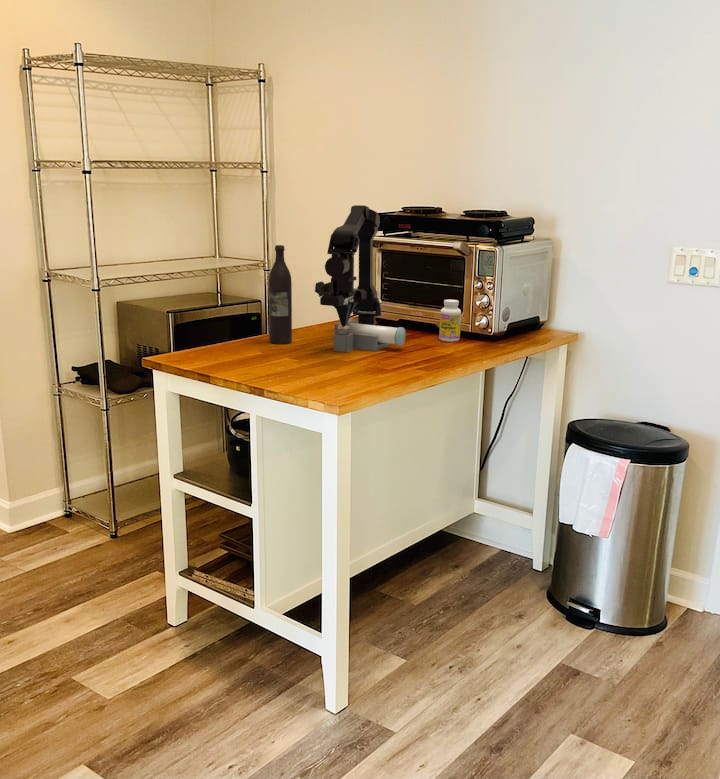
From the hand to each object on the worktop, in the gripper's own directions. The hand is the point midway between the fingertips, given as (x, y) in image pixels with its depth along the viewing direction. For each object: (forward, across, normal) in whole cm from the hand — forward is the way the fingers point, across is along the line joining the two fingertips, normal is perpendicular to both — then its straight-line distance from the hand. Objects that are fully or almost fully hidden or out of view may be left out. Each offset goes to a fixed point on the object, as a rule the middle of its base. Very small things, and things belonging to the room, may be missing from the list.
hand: (343, 325), depth 242 cm
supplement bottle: (+8, -31, +22) cm, 39 cm away
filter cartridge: (+6, -8, +7) cm, 12 cm away
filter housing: (+7, -5, +2) cm, 10 cm away
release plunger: (+6, 0, 0) cm, 6 cm away
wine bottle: (+8, 0, -22) cm, 24 cm away
